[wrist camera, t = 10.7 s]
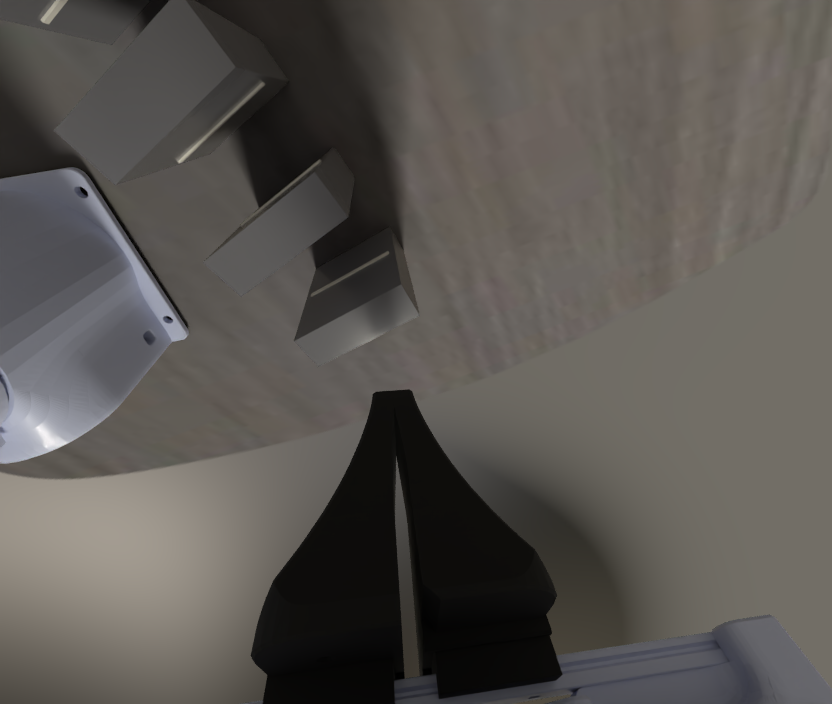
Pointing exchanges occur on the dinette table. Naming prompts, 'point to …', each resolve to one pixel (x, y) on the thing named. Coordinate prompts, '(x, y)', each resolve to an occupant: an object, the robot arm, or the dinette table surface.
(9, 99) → the dinette table surface
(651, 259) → the dinette table surface
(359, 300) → the domino
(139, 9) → the domino
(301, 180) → the domino
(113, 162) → the domino
